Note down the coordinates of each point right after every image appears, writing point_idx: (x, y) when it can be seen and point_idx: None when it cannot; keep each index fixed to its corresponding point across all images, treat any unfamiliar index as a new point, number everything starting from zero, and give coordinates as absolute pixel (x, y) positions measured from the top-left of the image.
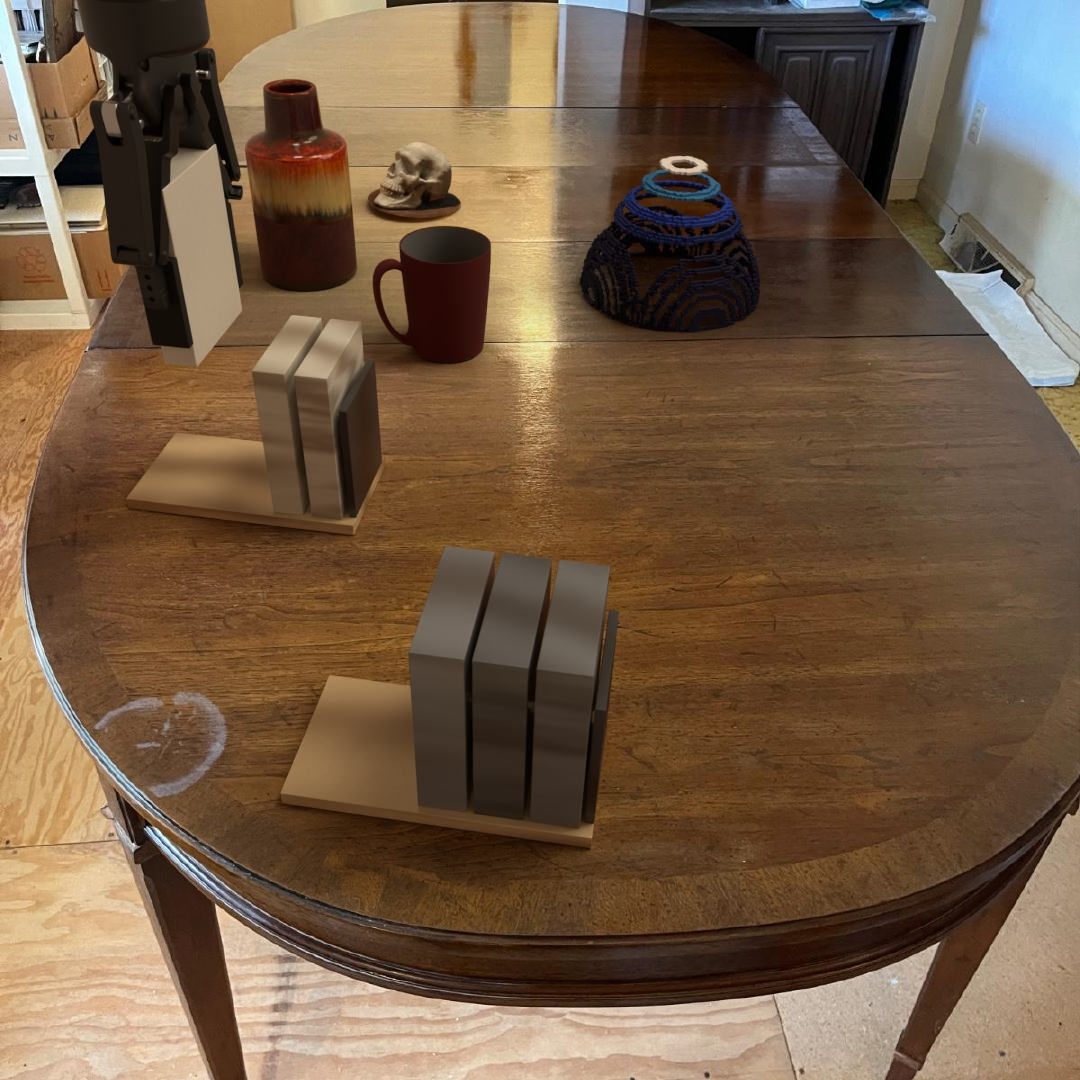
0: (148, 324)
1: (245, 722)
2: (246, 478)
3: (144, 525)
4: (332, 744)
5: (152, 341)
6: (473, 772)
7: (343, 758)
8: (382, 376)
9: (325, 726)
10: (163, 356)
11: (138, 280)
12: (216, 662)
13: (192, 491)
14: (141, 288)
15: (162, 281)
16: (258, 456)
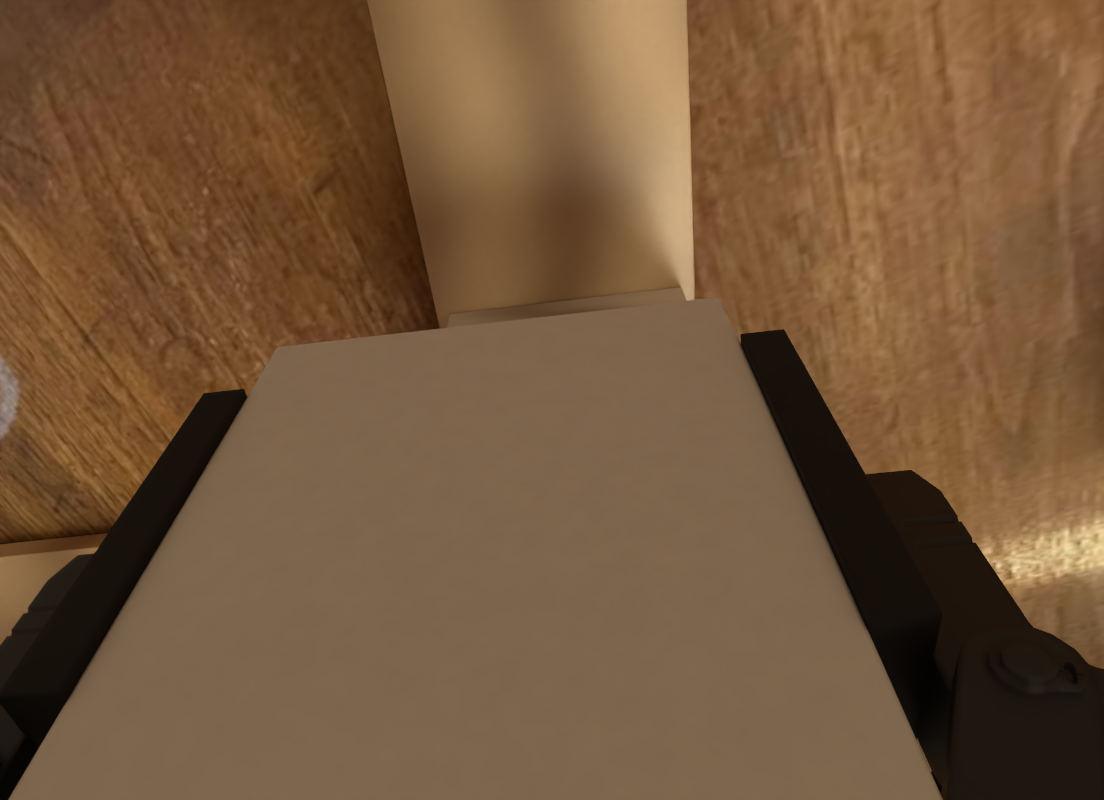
0: (169, 445)
1: (18, 461)
2: (539, 206)
3: (325, 36)
4: (38, 585)
5: (198, 404)
6: None
7: (30, 601)
8: (1061, 287)
9: (56, 570)
10: (268, 362)
11: (67, 593)
12: (85, 374)
13: (448, 111)
14: (7, 643)
15: None
16: (629, 191)
